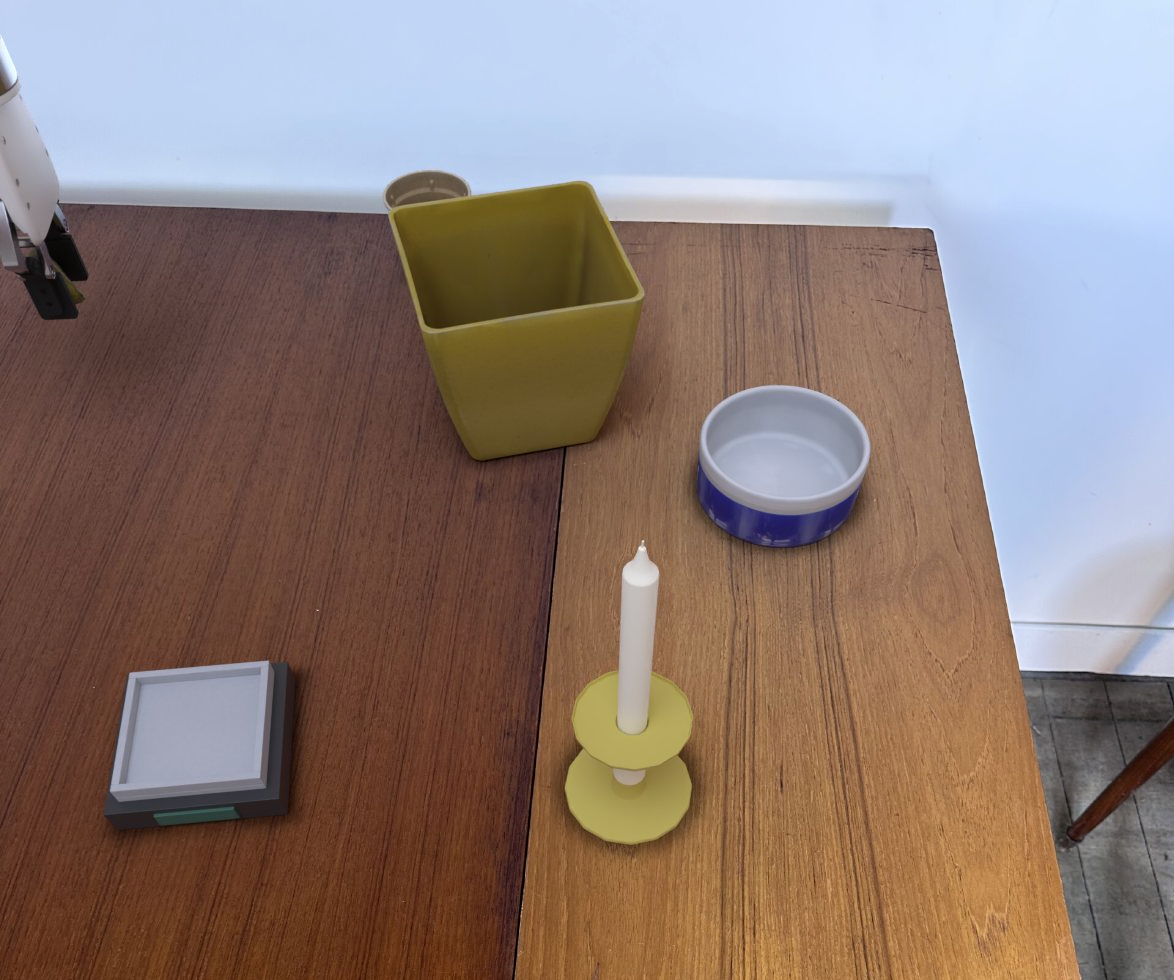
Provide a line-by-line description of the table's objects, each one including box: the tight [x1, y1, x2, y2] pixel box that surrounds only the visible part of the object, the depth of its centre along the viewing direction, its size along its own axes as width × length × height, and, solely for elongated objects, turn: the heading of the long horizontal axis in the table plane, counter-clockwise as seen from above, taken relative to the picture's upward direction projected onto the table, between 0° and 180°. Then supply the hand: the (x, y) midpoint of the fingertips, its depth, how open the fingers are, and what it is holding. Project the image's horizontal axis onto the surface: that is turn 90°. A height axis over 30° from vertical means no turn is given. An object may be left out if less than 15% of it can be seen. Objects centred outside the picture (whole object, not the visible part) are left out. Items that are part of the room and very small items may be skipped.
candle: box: [564, 539, 694, 846], centre depth 65 cm, size 10×10×27 cm
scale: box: [103, 660, 296, 831], centre depth 76 cm, size 13×13×4 cm
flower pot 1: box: [382, 169, 472, 212], centre depth 107 cm, size 9×9×9 cm
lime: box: [27, 247, 87, 305], centre depth 86 cm, size 4×5×5 cm
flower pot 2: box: [387, 180, 645, 461], centre depth 91 cm, size 19×19×17 cm
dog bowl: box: [696, 384, 871, 548], centre depth 90 cm, size 15×15×6 cm
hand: (65, 296), depth 88 cm, fingers closed on lime, 5 cm apart
